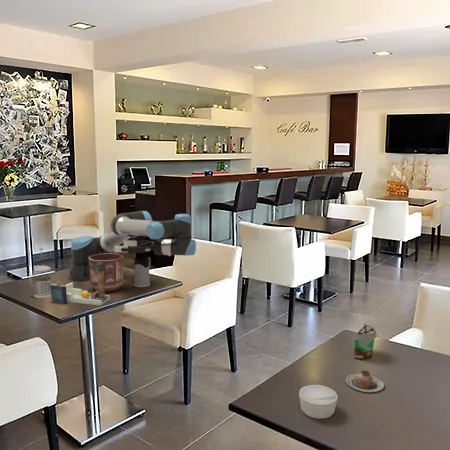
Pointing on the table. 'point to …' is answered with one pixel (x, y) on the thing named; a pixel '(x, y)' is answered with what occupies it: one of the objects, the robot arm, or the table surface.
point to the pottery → (107, 271)
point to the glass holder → (142, 271)
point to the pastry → (364, 381)
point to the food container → (364, 343)
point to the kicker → (100, 283)
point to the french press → (45, 280)
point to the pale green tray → (75, 297)
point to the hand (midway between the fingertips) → (119, 246)
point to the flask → (58, 293)
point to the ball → (85, 294)
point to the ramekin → (318, 401)
